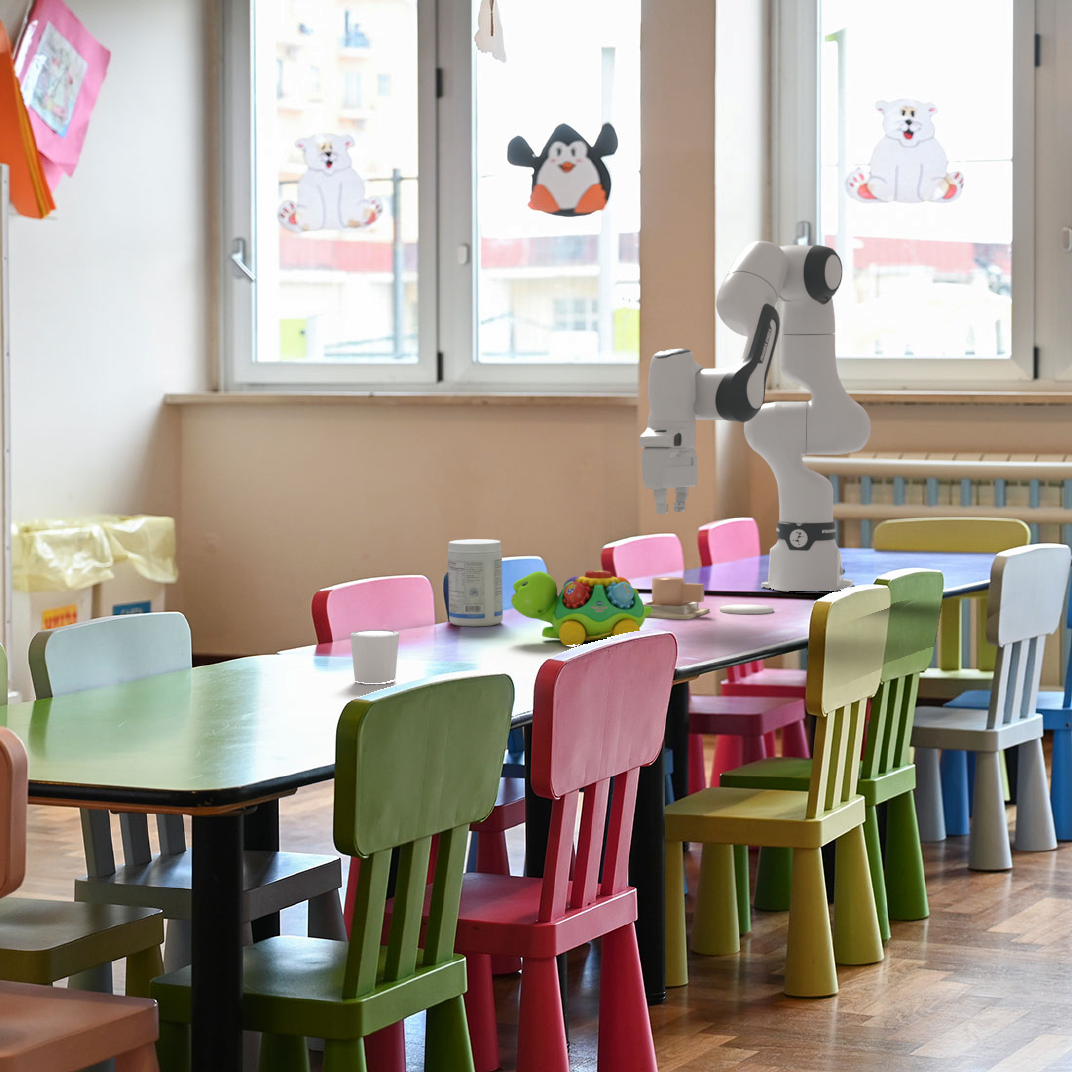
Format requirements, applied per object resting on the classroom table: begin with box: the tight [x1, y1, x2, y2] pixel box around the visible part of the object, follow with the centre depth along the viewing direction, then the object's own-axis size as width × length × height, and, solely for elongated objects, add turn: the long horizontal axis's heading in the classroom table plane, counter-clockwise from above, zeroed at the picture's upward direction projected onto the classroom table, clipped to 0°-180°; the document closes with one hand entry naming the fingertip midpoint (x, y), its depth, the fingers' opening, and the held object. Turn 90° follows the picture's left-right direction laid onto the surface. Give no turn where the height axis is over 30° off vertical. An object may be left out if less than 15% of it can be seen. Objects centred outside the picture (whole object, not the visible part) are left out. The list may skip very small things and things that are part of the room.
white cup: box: [349, 629, 400, 683], centre depth 242 cm, size 7×7×7 cm
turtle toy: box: [510, 569, 653, 646], centre depth 283 cm, size 17×23×12 cm
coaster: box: [719, 604, 775, 615], centre depth 322 cm, size 10×10×1 cm
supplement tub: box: [447, 538, 504, 627], centre depth 304 cm, size 10×10×15 cm
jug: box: [651, 576, 705, 606], centre depth 317 cm, size 6×10×6 cm, turn 66°
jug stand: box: [643, 599, 710, 620], centre depth 318 cm, size 12×12×2 cm
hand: (671, 512), depth 316 cm, fingers open, 8 cm apart
